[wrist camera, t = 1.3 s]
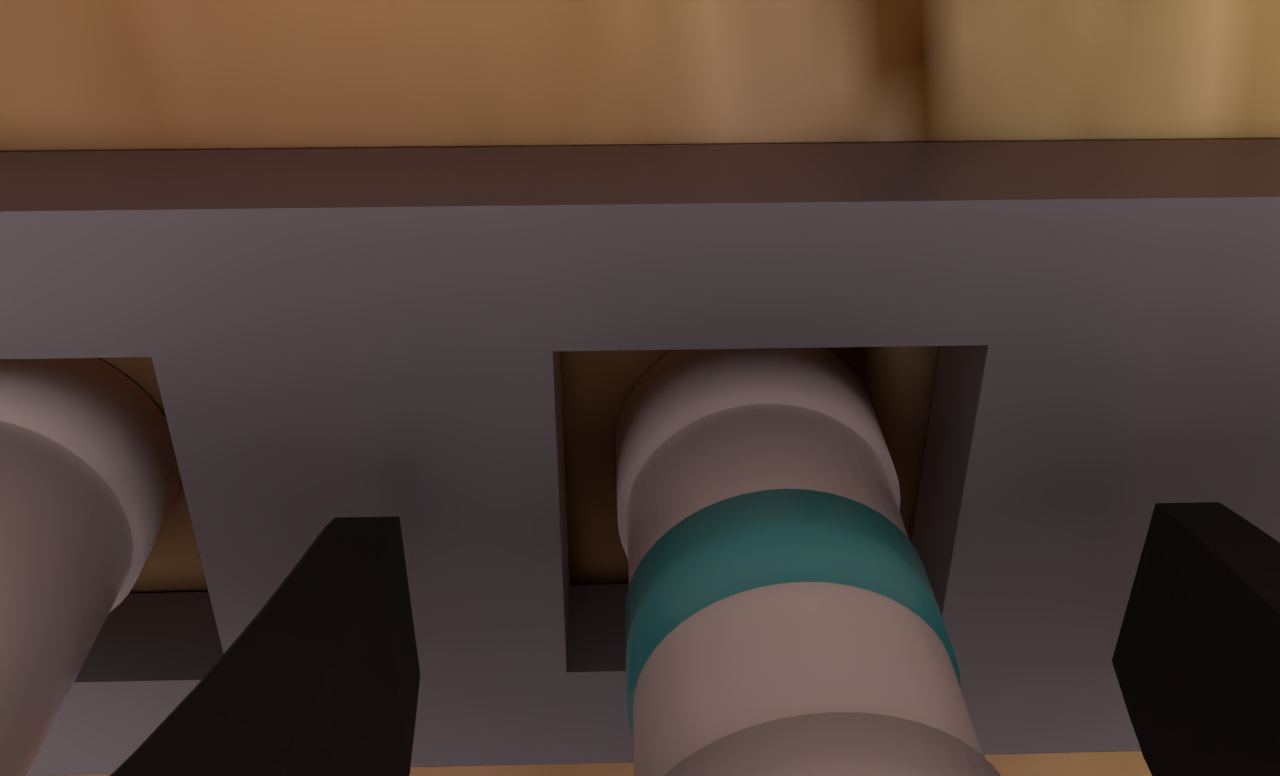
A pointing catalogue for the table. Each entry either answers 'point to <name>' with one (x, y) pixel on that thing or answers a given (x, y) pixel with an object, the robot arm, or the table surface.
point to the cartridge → (69, 527)
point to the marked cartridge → (776, 579)
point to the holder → (653, 320)
